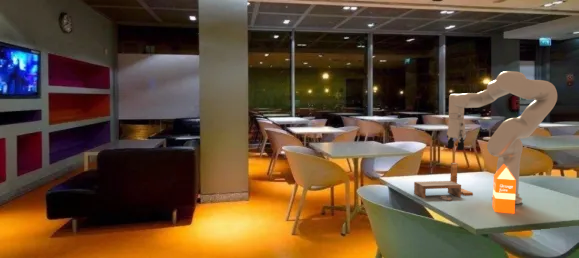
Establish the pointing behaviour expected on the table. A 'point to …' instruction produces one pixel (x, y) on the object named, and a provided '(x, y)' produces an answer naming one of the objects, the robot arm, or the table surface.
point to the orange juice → (504, 191)
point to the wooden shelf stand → (437, 187)
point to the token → (446, 198)
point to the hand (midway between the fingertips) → (455, 148)
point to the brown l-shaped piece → (454, 178)
